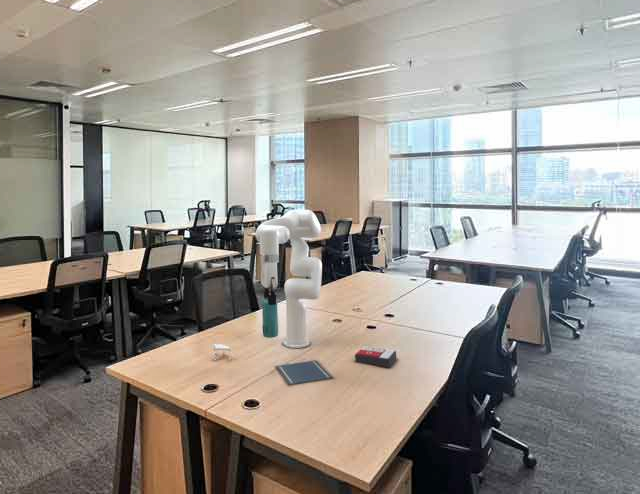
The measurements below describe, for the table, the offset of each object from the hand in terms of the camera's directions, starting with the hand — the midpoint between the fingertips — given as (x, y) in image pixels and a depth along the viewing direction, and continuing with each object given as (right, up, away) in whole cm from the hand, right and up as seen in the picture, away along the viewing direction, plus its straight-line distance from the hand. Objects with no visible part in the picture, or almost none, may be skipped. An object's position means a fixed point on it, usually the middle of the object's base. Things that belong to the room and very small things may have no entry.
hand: (270, 301), depth 173 cm
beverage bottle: (0, -15, 0) cm, 15 cm away
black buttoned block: (+45, -29, +13) cm, 55 cm away
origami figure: (-22, -30, +17) cm, 41 cm away
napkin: (+14, -29, +1) cm, 32 cm away
